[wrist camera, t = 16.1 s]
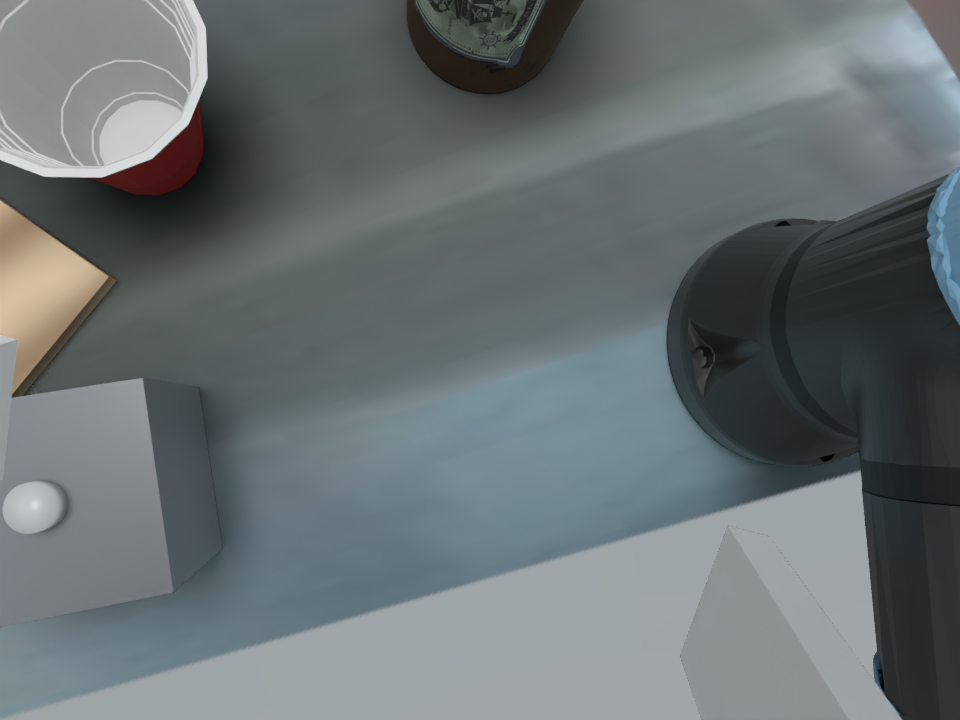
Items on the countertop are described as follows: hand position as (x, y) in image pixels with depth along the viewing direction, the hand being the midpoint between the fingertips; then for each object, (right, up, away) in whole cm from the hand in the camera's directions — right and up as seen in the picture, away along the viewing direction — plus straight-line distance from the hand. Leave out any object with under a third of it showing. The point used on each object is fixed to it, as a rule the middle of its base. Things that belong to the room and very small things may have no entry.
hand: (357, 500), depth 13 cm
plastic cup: (-16, +14, +28) cm, 35 cm away
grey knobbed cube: (-17, -4, +26) cm, 31 cm away
